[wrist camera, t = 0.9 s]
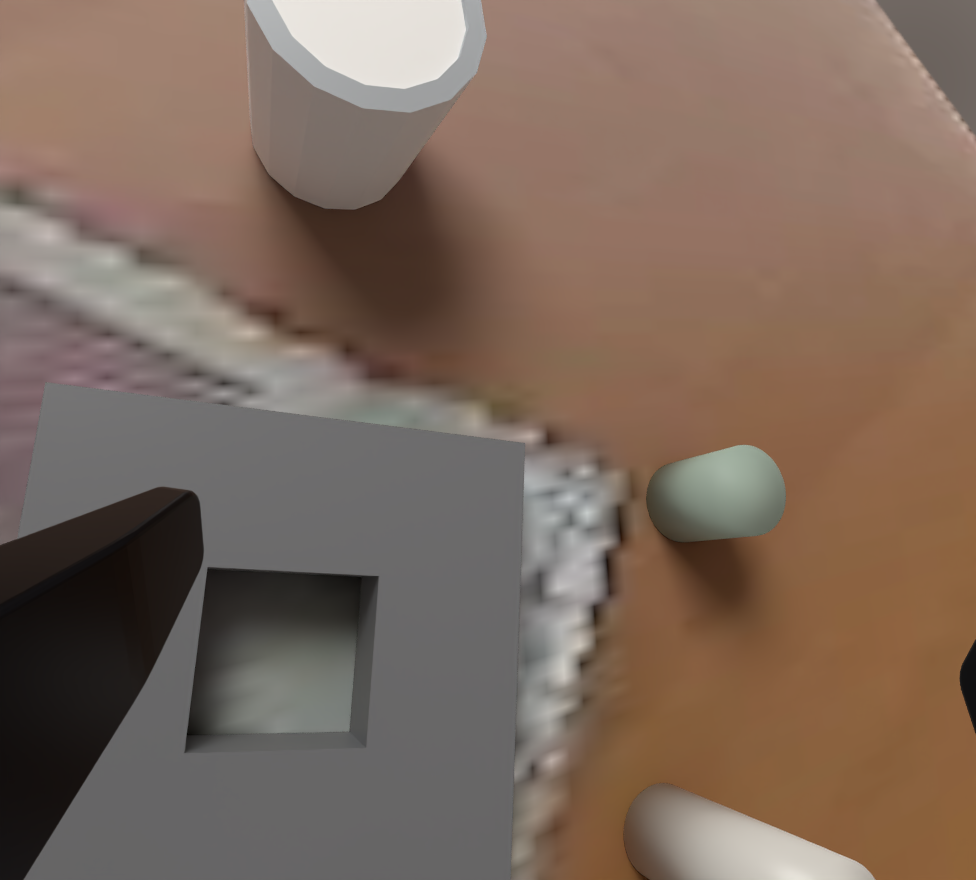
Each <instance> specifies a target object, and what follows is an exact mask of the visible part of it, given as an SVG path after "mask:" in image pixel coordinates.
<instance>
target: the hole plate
mask: <svg viewBox="0 0 976 880" xmlns="http://www.w3.org/2000/svg"><path fill="white" fill-rule="evenodd" d="M524 460H525V443H520V442H512V441H504V440H497V439H489V438H481V437H473V436H465V435H457V434H449V433H441V432H433V431H426V430H418V429H410V428H402V427H394V426H386V425H378V424H370V423H363V422H355V421H347V420H339V419H331V418H323V417H315V416H307V415H299V414H292V413H284V412H276V411H268V410H260V409H252V408H244V407H236V406H229V405H221V404H213V403H205V402H197V401H189V400H181V399H173V398H165V397H158V396H150V395H142V394H134V393H126V392H118V391H110V390H102V389H95V388H87V387H79V386H71V385H63V384H55V383H47V382H45V388H44V394H43V399H42V405H41V410H40V416H39V421H38V427H37V432H36V438H35V443H34V449H33V454H32V460H31V466H30V471H29V477H28V482H27V488H26V493H25V499H24V504H23V510H22V515H21V521H20V526H19V532H18V538H21V537H24V536H26V535H29V534H32V533H35V532H37V531H40V530H43V529H45V528H48V527H51V526H53V525H56V524H59V523H62V522H64V521H67V520H70V519H72V518H75V517H78V516H81V515H83V514H86V513H89V512H91V511H94V510H97V509H99V508H102V507H105V506H108V505H110V504H113V503H116V502H118V501H121V500H124V499H126V498H129V497H132V496H135V495H137V494H140V493H143V492H145V491H148V490H151V489H154V488H156V487H162V486H165V487H171V488H178V489H185V490H191V491H193V492H194V493H195V494H196V495H197V496H198V498H199V501H200V507H201V519H202V531H203V543H204V557H203V562H202V566H201V569H200V571H199V574H198V576H197V578H196V580H195V582H194V584H193V586H192V588H191V590H190V592H189V595H188V597H187V599H186V601H185V603H184V605H183V607H182V609H181V611H180V613H179V615H178V618H177V620H176V622H175V624H174V626H173V628H172V630H171V632H170V634H169V636H168V639H167V641H166V643H165V645H164V647H163V649H162V651H161V653H160V655H159V657H158V660H157V662H156V664H155V666H154V668H153V670H152V671H151V673H150V675H149V677H148V679H147V681H146V683H145V685H144V686H143V688H142V690H141V691H140V693H139V695H138V697H137V698H136V700H135V702H134V703H133V705H132V706H131V708H130V710H129V711H128V713H127V715H126V716H125V718H124V719H123V721H122V723H121V724H120V726H119V727H118V729H117V731H116V732H115V734H114V735H113V737H112V739H111V740H110V742H109V743H108V745H107V747H106V748H105V750H104V751H103V753H102V755H101V756H100V758H99V760H98V761H97V763H96V764H95V766H94V768H93V769H92V771H91V772H90V774H89V776H88V777H87V779H86V780H85V782H84V784H83V785H82V787H81V788H80V790H79V792H78V793H77V795H76V797H75V798H74V800H73V801H72V803H71V805H70V806H69V808H68V809H67V811H66V813H65V814H64V816H63V817H62V819H61V821H60V822H59V824H58V825H57V827H56V829H55V830H54V832H53V833H52V835H51V837H50V838H49V840H48V842H47V843H46V845H45V846H44V848H43V850H42V851H41V853H40V854H39V856H38V858H37V859H36V861H35V862H34V864H33V866H32V867H31V869H30V870H29V872H28V874H27V875H26V877H25V878H24V880H511V850H512V820H513V790H514V760H515V730H516V700H517V670H518V640H519V610H520V580H521V550H522V520H523V490H524ZM18 538H17V539H18ZM207 569H217V570H236V571H255V572H274V573H293V574H312V575H331V576H350V577H362V581H361V593H360V606H359V619H358V631H357V644H356V656H355V669H354V682H353V694H352V707H351V720H350V732H322V733H277V734H231V735H187V728H188V720H189V712H190V704H191V696H192V688H193V680H194V672H195V664H196V656H197V648H198V640H199V631H200V623H201V615H202V607H203V599H204V591H205V583H206V575H207Z"/></svg>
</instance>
